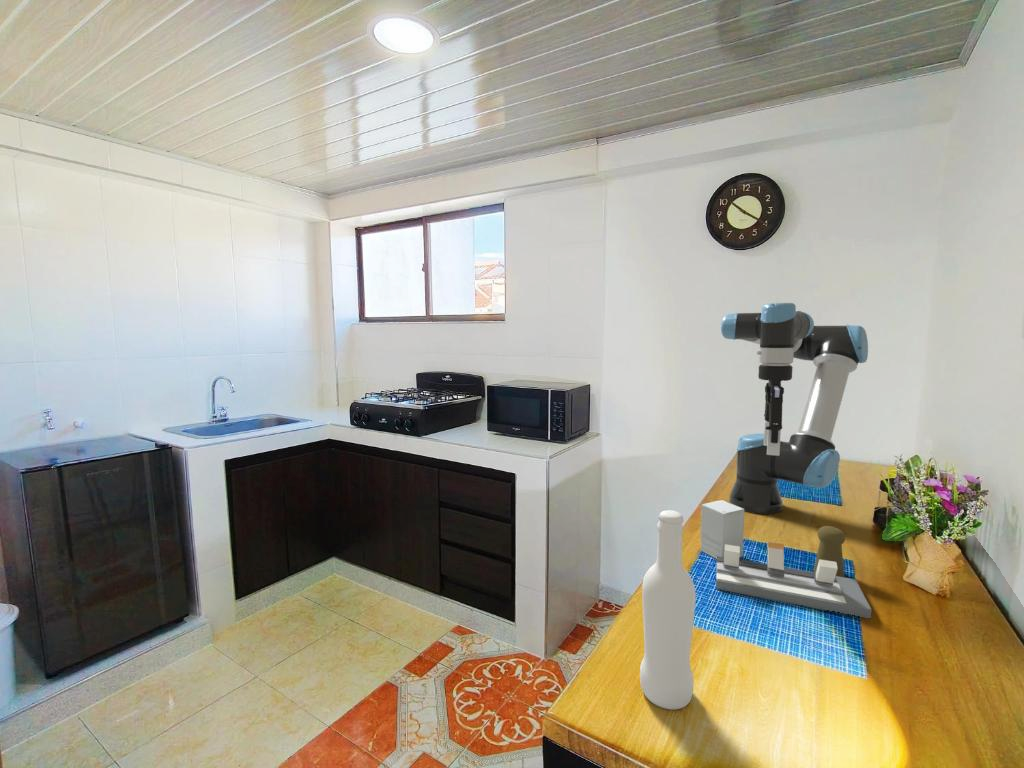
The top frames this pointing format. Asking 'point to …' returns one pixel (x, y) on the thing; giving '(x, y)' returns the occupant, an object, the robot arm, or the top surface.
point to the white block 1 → (731, 556)
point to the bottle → (668, 620)
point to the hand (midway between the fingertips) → (771, 450)
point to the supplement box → (721, 527)
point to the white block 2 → (826, 572)
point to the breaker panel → (793, 587)
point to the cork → (831, 547)
